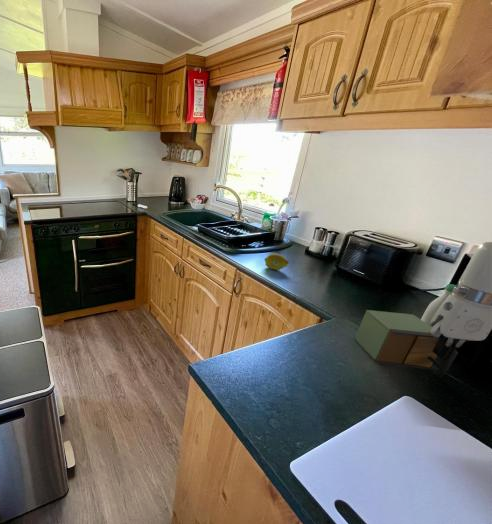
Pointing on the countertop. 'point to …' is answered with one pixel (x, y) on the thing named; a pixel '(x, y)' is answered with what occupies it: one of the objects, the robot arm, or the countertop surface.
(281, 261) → the lemon
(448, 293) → the milk bottle
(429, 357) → the sliding door
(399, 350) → the cupboard
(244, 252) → the countertop surface
